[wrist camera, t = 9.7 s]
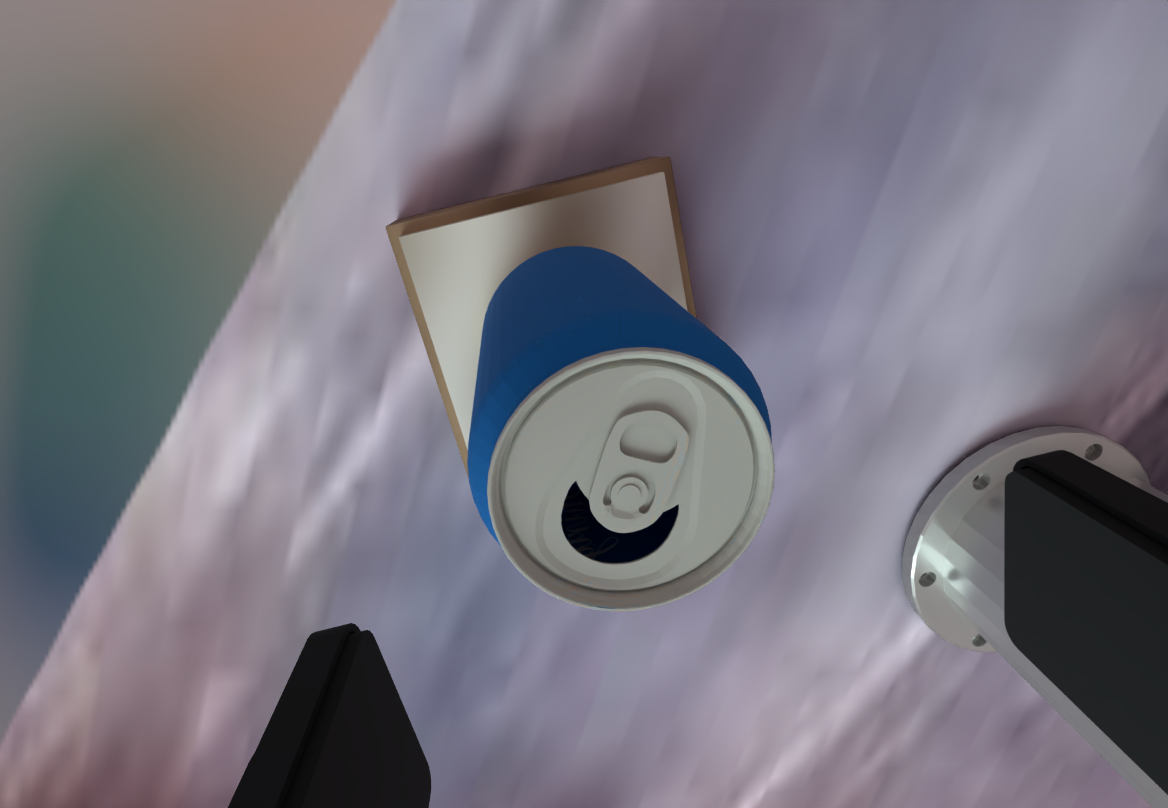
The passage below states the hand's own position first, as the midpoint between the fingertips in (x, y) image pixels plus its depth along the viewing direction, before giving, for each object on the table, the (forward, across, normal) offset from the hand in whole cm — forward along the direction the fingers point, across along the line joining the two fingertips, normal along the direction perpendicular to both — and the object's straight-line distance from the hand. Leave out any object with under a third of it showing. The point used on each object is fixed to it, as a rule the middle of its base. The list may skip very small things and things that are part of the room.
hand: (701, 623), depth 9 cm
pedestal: (+18, +1, -1) cm, 18 cm away
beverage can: (+16, +1, -1) cm, 16 cm away
